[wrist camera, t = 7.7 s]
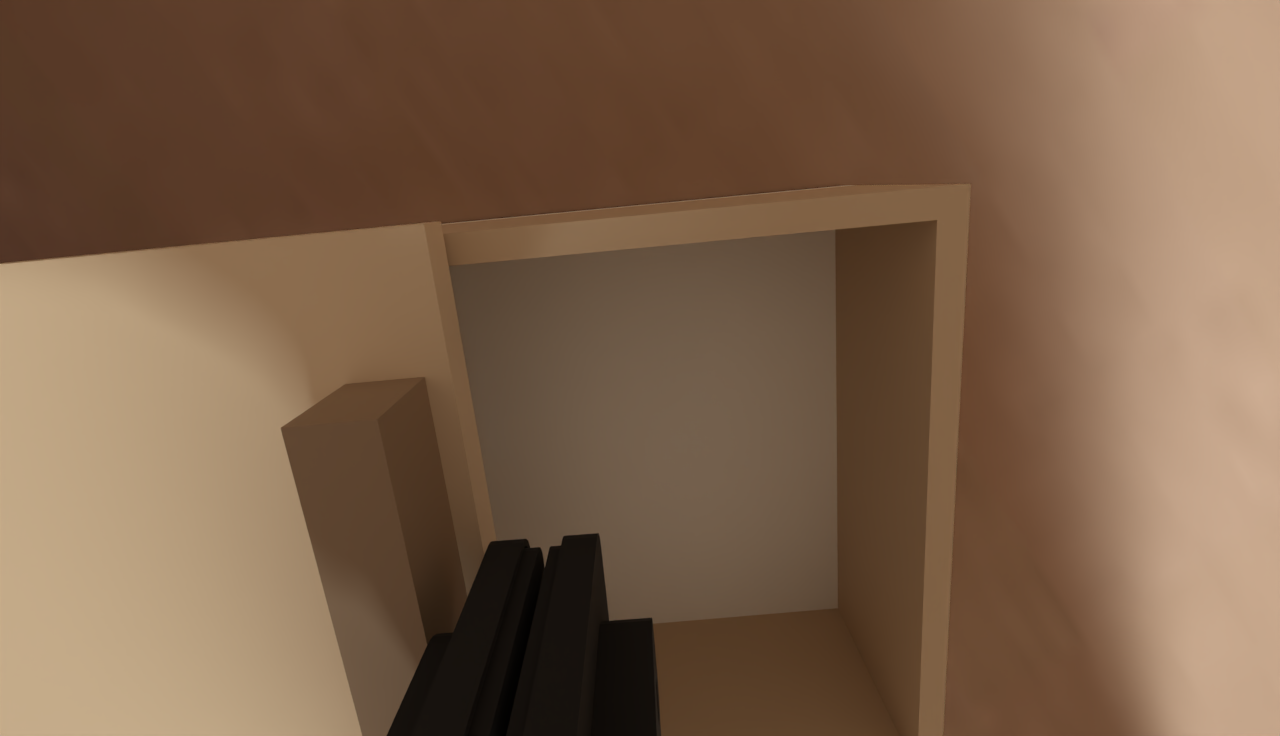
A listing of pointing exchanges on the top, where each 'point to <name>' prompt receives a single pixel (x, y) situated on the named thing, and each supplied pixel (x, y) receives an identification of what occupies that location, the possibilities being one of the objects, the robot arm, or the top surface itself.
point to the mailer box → (739, 436)
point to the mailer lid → (232, 484)
